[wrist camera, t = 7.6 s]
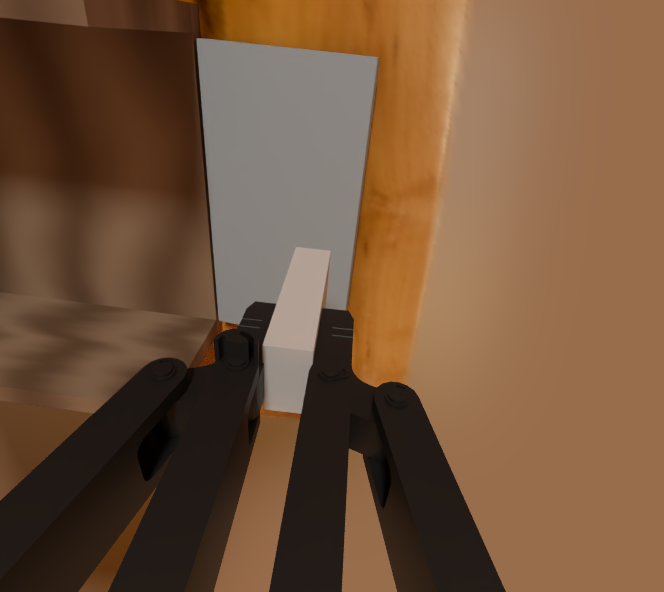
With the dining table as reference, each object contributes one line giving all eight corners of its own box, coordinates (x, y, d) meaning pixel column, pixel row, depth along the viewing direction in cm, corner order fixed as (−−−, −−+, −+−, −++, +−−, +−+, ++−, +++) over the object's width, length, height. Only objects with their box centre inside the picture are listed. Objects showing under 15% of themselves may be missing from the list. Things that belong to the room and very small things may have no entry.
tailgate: (218, 320, 29) (341, 345, 28) (196, 38, 20) (377, 57, 19) (225, 311, 30) (344, 334, 29) (207, 38, 21) (380, 57, 20)
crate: (-5, 295, 31) (-135, 381, 23) (-145, -31, 21) (-474, -77, 13) (221, 325, 31) (167, 423, 23) (197, 4, 20) (78, -22, 12)
